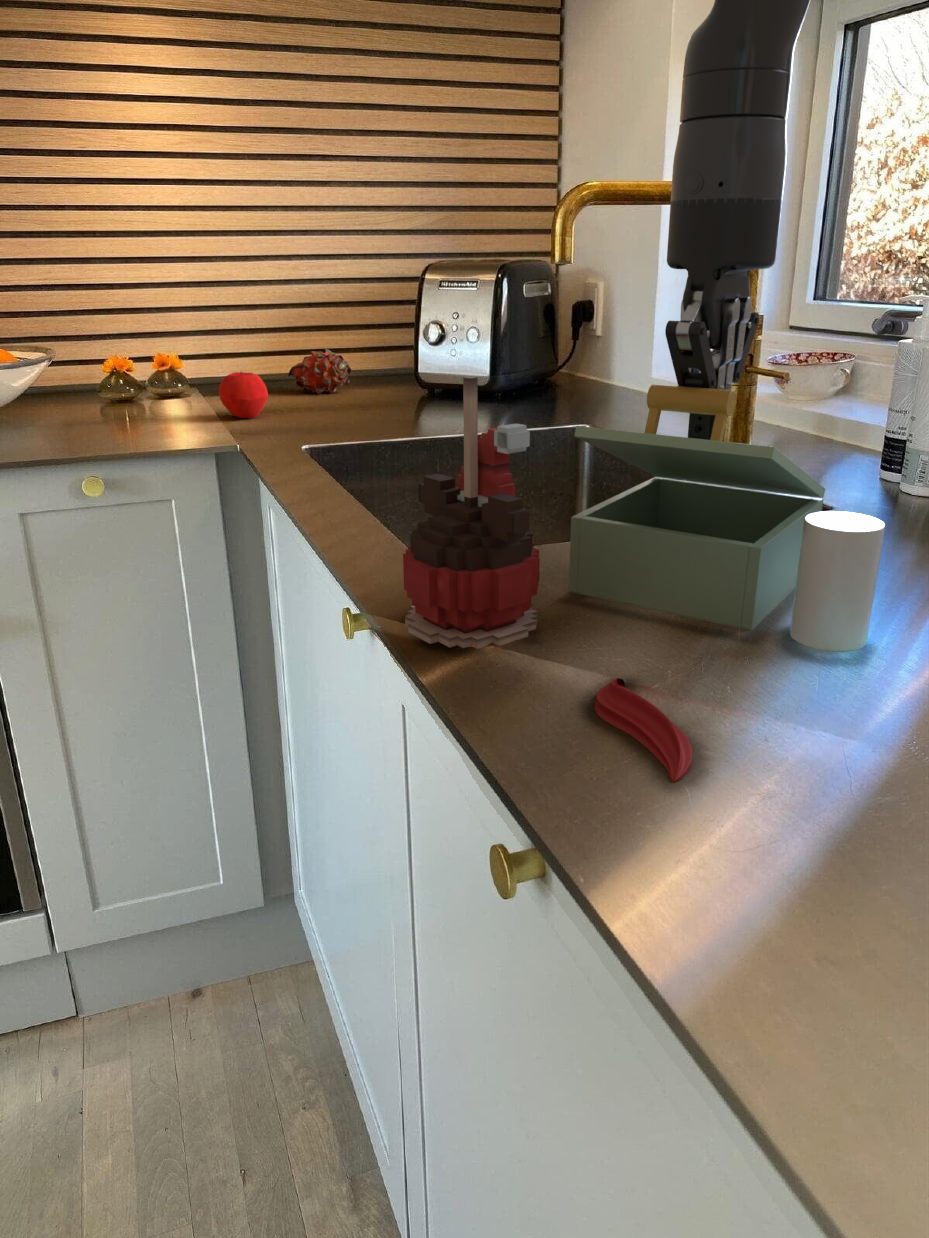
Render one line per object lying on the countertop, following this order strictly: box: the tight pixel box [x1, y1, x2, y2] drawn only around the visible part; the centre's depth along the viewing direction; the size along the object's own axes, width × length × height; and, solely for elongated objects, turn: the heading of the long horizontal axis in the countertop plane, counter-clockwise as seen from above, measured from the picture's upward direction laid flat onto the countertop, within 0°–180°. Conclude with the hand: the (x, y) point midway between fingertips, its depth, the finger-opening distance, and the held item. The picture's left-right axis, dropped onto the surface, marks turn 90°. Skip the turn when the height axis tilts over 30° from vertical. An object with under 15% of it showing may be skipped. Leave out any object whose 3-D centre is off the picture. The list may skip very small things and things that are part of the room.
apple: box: [218, 370, 269, 419], centre depth 152 cm, size 8×8×7 cm
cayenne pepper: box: [594, 677, 693, 783], centre depth 54 cm, size 12×5×2 cm, turn 179°
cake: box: [402, 375, 540, 650], centre depth 65 cm, size 11×9×18 cm
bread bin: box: [568, 476, 824, 631], centre depth 75 cm, size 16×15×7 cm
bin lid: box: [574, 383, 826, 499], centre depth 72 cm, size 16×15×5 cm
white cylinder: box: [789, 510, 887, 652], centre depth 63 cm, size 5×5×9 cm
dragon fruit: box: [287, 348, 352, 395], centre depth 177 cm, size 8×8×12 cm
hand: (704, 444), depth 71 cm, fingers closed
